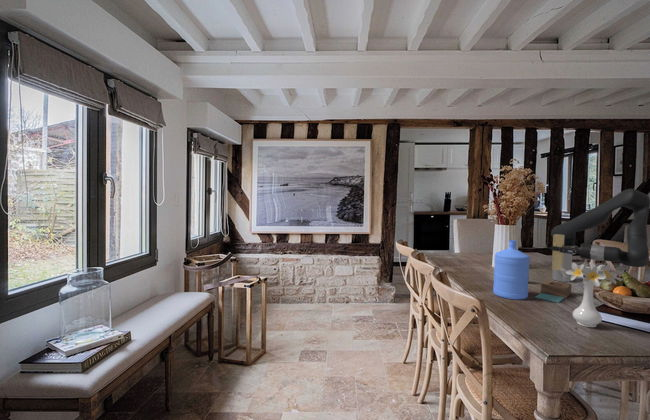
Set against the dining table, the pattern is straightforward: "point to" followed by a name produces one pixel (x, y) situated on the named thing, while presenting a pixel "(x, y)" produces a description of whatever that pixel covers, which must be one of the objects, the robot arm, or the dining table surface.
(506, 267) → the water jug
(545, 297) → the teal mat
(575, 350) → the dining table surface
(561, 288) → the socket block
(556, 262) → the tan wooden peg
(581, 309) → the flower vase
